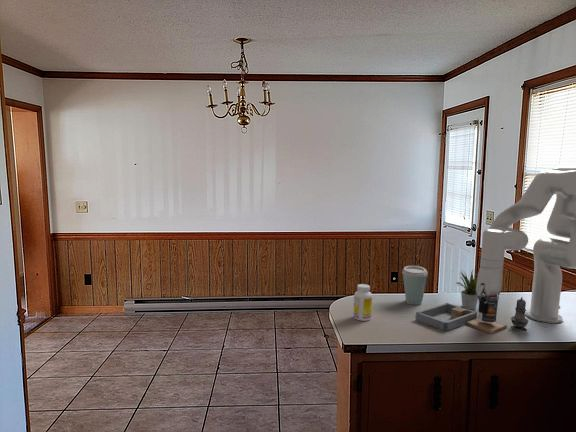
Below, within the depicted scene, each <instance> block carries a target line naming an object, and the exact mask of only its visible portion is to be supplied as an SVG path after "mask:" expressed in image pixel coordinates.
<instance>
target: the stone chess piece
mask: <svg viewBox="0 0 576 432" xmlns="http://www.w3.org/2000/svg"><path fill="white" fill-rule="evenodd" d="M526 303H527V302H526V300H525V299H524V298H523V296H521V298H520V299H517V300H516V307H514V309H515V314H514V316H510V320H511V324H512V325H511V326H510V329H511V330H513V331H515V332H516V331H517V332H521V331H525V332H527V331H528V329H527V328H526V326H527V325H528V323H529V322H530V321H529V319H527V318H526V314H525V312H526V311H527V309H526V306H527V304H526Z"/></svg>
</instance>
